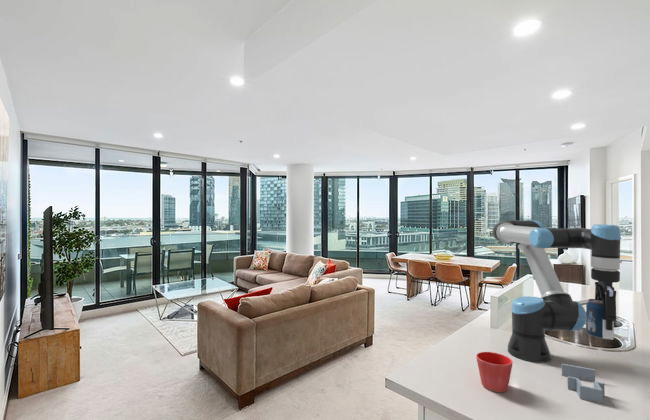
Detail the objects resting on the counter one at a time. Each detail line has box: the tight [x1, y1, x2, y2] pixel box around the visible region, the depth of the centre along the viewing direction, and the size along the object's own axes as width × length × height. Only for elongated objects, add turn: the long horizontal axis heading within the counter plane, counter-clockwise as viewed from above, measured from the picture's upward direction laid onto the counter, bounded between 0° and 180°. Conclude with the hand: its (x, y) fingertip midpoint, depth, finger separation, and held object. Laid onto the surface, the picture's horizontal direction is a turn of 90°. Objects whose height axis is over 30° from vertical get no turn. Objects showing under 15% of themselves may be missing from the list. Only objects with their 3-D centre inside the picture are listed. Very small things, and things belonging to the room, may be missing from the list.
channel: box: [560, 363, 605, 404], centre depth 107 cm, size 10×16×4 cm, turn 152°
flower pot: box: [475, 351, 514, 393], centre depth 109 cm, size 11×11×10 cm
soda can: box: [585, 298, 605, 340], centre depth 112 cm, size 7×7×12 cm
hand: (604, 334), depth 111 cm, fingers closed on soda can, 7 cm apart
